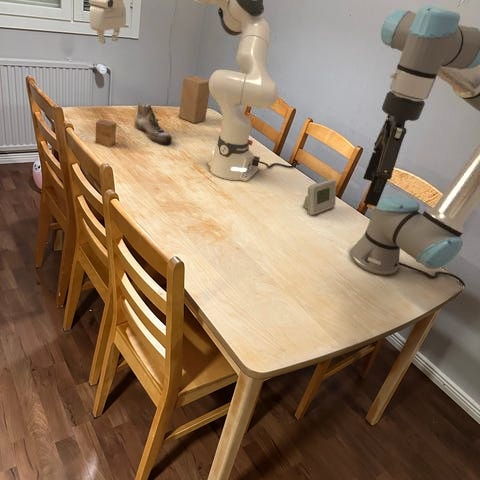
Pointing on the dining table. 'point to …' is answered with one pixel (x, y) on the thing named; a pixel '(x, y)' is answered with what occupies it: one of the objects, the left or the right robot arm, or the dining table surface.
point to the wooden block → (194, 99)
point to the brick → (105, 132)
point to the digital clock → (320, 196)
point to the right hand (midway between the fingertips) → (369, 191)
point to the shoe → (151, 124)
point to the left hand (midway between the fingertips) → (108, 42)
